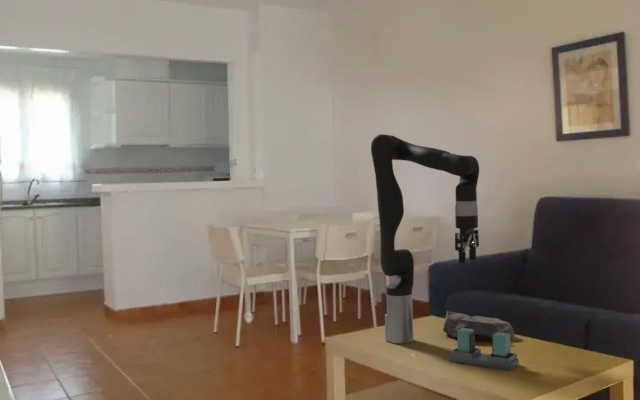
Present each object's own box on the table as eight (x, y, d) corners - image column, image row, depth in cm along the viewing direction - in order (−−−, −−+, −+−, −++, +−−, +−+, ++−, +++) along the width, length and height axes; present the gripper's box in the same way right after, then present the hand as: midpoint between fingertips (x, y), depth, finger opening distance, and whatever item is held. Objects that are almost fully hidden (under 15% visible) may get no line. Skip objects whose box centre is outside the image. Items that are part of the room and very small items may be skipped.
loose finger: (470, 357, 214) (470, 332, 214) (457, 355, 217) (457, 330, 217) (475, 354, 218) (475, 329, 217) (462, 352, 220) (462, 327, 220)
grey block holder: (450, 361, 217) (449, 330, 217) (459, 356, 223) (458, 326, 222) (510, 370, 205) (510, 338, 205) (518, 364, 211) (518, 333, 210)
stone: (442, 307, 264) (508, 307, 259) (443, 328, 264) (509, 328, 260) (442, 320, 241) (515, 320, 236) (443, 343, 241) (516, 344, 237)
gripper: (468, 215, 222) (469, 264, 223) (485, 212, 233) (486, 259, 234) (447, 215, 226) (448, 263, 227) (464, 212, 238) (466, 258, 239)
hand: (467, 261), depth 231 cm, fingers open, 8 cm apart
